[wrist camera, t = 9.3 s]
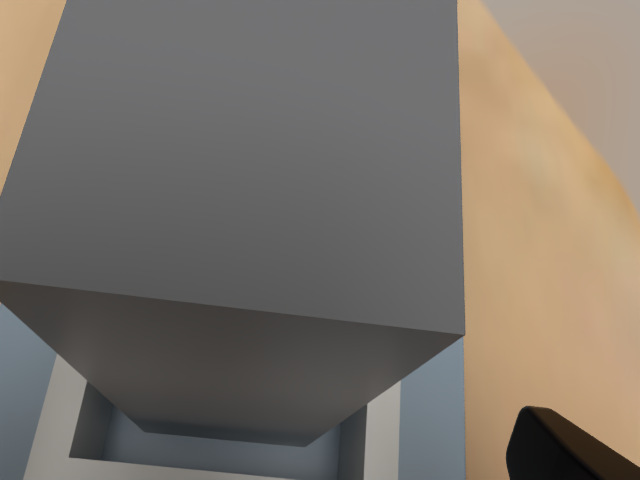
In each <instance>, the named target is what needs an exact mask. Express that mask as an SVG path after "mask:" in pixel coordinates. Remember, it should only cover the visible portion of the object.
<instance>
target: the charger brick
mask: <svg viewBox="0 0 640 480" xmlns="http://www.w3.org/2000/svg"><path fill="white" fill-rule="evenodd" d="M0 302H1V303H2V304H3V305H4V306H5V307H7V308H8V309H9V310H10V311H11V312H12V313H13V314H14V315H15V316H17V317H18V318H19V319H20V320H21V321H22V322H23V323H24V324H25V325H26V326H28V327H29V328H30V329H31V330H32V331H33V332H34V333H35V334H36V335H37V336H39V337H40V338H41V339H42V340H43V341H44V342H45V343H46V344H47V345H49V346H50V347H51V348H52V349H53V350H54V351H55V352H56V353H57V354H58V355H60V356H61V357H62V358H63V359H64V360H65V361H66V362H67V363H68V364H70V365H71V366H72V367H73V368H74V369H75V370H76V371H77V372H78V373H79V374H81V375H82V376H83V377H84V378H85V379H86V380H87V381H88V382H89V383H90V384H92V385H93V386H94V387H95V388H96V389H97V390H98V391H99V392H100V393H102V394H103V395H104V396H105V397H106V398H107V399H108V400H109V401H110V402H111V403H113V404H114V405H115V406H116V407H117V408H118V409H119V410H120V411H121V412H122V413H124V414H125V415H126V416H127V417H128V418H129V419H130V420H131V421H132V422H134V423H135V424H136V425H137V426H138V427H139V428H140V429H141V430H142V431H143V432H146V433H157V434H167V435H178V436H188V437H199V438H209V439H220V440H230V441H241V442H251V443H262V444H272V445H283V446H294V447H304V448H305V447H307V446H308V445H309V444H311V443H312V442H314V441H315V440H316V439H318V438H319V437H321V436H322V435H324V434H325V433H326V432H328V431H329V430H331V429H332V428H334V427H335V426H336V425H338V424H339V423H341V422H342V421H344V420H345V419H346V418H348V417H349V416H351V415H352V414H353V413H355V412H356V411H358V410H359V409H361V408H362V407H363V406H365V405H366V404H368V403H369V402H371V401H372V400H373V399H375V398H376V397H378V396H379V395H381V394H382V393H383V392H385V391H386V390H388V389H389V388H390V387H392V386H393V385H395V384H396V383H398V382H399V381H400V380H402V379H403V378H405V377H406V376H408V375H409V374H410V373H412V372H413V371H415V370H416V369H418V368H419V367H420V366H422V365H423V364H425V363H426V362H427V361H429V360H430V359H432V358H433V357H435V356H436V355H437V354H439V353H440V352H442V351H443V350H445V349H446V348H447V347H449V346H450V345H452V344H453V343H455V342H456V341H457V340H459V339H460V338H462V337H463V336H464V335H465V303H464V263H463V223H462V183H461V143H460V104H459V64H458V24H457V0H67V1H66V4H65V7H64V10H63V13H62V16H61V19H60V22H59V25H58V28H57V31H56V34H55V37H54V40H53V43H52V46H51V49H50V52H49V55H48V57H47V60H46V63H45V66H44V69H43V72H42V75H41V78H40V81H39V84H38V87H37V90H36V93H35V96H34V99H33V102H32V105H31V108H30V111H29V113H28V116H27V119H26V122H25V125H24V128H23V131H22V134H21V137H20V140H19V143H18V146H17V149H16V152H15V155H14V158H13V161H12V164H11V167H10V170H9V172H8V175H7V178H6V181H5V184H4V187H3V190H2V193H1V196H0Z"/></svg>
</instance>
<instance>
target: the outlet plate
mask: <svg viewBox="0 0 640 480" xmlns="http://www.w3.org/2000/svg"><path fill="white" fill-rule="evenodd" d="M0 480H466V470H465V409H464V348H463V337H462V338H460V339H459V340H457V341H456V342H455V343H453V344H452V345H450V346H449V347H447V348H446V349H445V350H443V351H442V352H440V353H439V354H437V355H436V356H435V357H433V358H432V359H430V360H429V361H427V362H426V363H425V364H423V365H422V366H420V367H419V368H418V369H416V370H415V371H413V372H412V373H410V374H409V375H408V376H406V377H405V378H403V379H402V380H400V381H399V382H398V383H396V384H395V385H393V386H392V387H390V388H389V389H388V390H386V391H385V392H383V393H382V394H381V395H379V396H378V397H376V398H375V399H373V400H372V401H371V402H369V403H368V404H366V405H365V406H363V407H362V408H361V409H359V410H358V411H356V412H355V413H353V414H352V415H351V416H349V417H348V418H346V419H345V420H344V421H342V422H341V423H339V424H338V425H336V426H335V427H334V428H332V429H331V430H329V431H328V432H326V433H325V434H324V435H322V436H321V437H319V438H318V439H316V440H315V441H314V442H312V443H311V444H309V445H308V446H307V447H305V448H304V447H294V446H283V445H272V444H262V443H251V442H241V441H230V440H220V439H209V438H199V437H188V436H178V435H167V434H157V433H146V432H143V431H142V430H141V429H140V428H139V427H138V426H137V425H136V424H135V423H134V422H132V421H131V420H130V419H129V418H128V417H127V416H126V415H125V414H124V413H122V412H121V411H120V410H119V409H118V408H117V407H116V406H115V405H114V404H113V403H111V402H110V401H109V400H108V399H107V398H106V397H105V396H104V395H103V394H102V393H100V392H99V391H98V390H97V389H96V388H95V387H94V386H93V385H92V384H90V383H89V382H88V381H87V380H86V379H85V378H84V377H83V376H82V375H81V374H79V373H78V372H77V371H76V370H75V369H74V368H73V367H72V366H71V365H70V364H68V363H67V362H66V361H65V360H64V359H63V358H62V357H61V356H60V355H58V354H57V353H56V352H55V351H54V350H53V349H52V348H51V347H50V346H49V345H47V344H46V343H45V342H44V341H43V340H42V339H41V338H40V337H39V336H37V335H36V334H35V333H34V332H33V331H32V330H31V329H30V328H29V327H28V326H26V325H25V324H24V323H23V322H22V321H21V320H20V319H19V318H18V317H17V316H15V315H14V314H13V313H12V312H11V311H10V310H9V309H8V308H7V307H5V306H4V305H3V304H2V303H1V305H0Z"/></svg>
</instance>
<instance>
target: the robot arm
mask: <svg viewBox="0 0 640 480" xmlns="http://www.w3.org/2000/svg"><path fill="white" fill-rule="evenodd" d="M506 464H507V469H508V473H509V477H510V480H640V467H638V466H637V465H635V464H634V463H632V462H631V461H629V460H628V459H626V458H625V457H623V456H622V455H620V454H619V453H617V452H615V451H614V450H612V449H611V448H609V447H608V446H606V445H605V444H603V443H602V442H600V441H599V440H597V439H596V438H594V437H593V436H591V435H590V434H588V433H587V432H585V431H584V430H582V429H581V428H579V427H578V426H576V425H575V424H573V423H572V422H570V421H569V420H567V419H566V418H564V417H563V416H561V415H559V414H558V413H556V412H555V411H553V410H552V409H549V408H543V407H534V406H525V407H524V408H522V409H521V410H520V412H519V414H518V417H517V420H516V423H515V426H514V429H513V432H512V435H511V438H510V441H509V444H508V447H507V452H506Z"/></svg>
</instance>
